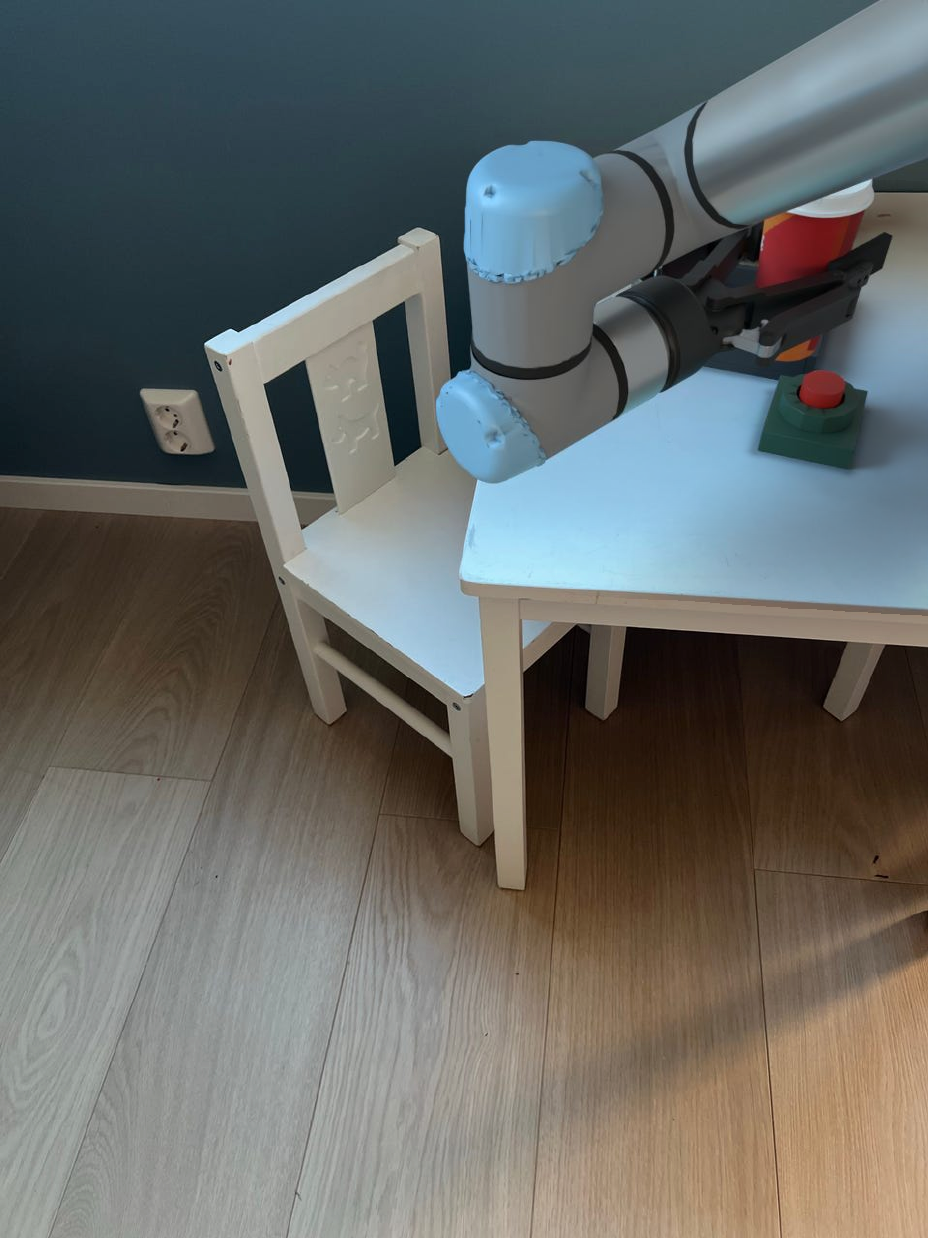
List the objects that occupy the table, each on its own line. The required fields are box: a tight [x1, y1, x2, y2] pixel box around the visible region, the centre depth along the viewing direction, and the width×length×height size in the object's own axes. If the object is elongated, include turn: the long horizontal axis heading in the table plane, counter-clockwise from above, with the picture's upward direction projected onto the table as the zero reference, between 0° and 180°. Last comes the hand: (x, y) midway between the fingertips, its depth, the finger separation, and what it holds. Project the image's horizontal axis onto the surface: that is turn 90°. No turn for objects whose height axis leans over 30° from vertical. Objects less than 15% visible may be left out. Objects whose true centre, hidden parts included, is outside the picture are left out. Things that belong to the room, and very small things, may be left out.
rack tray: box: [703, 263, 825, 381], centre depth 94 cm, size 15×15×3 cm
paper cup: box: [755, 179, 875, 361], centre depth 71 cm, size 8×8×14 cm
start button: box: [799, 369, 846, 409], centre depth 82 cm, size 4×4×2 cm
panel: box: [757, 374, 869, 470], centre depth 84 cm, size 8×9×4 cm
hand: (843, 233), depth 73 cm, fingers closed on paper cup, 7 cm apart
